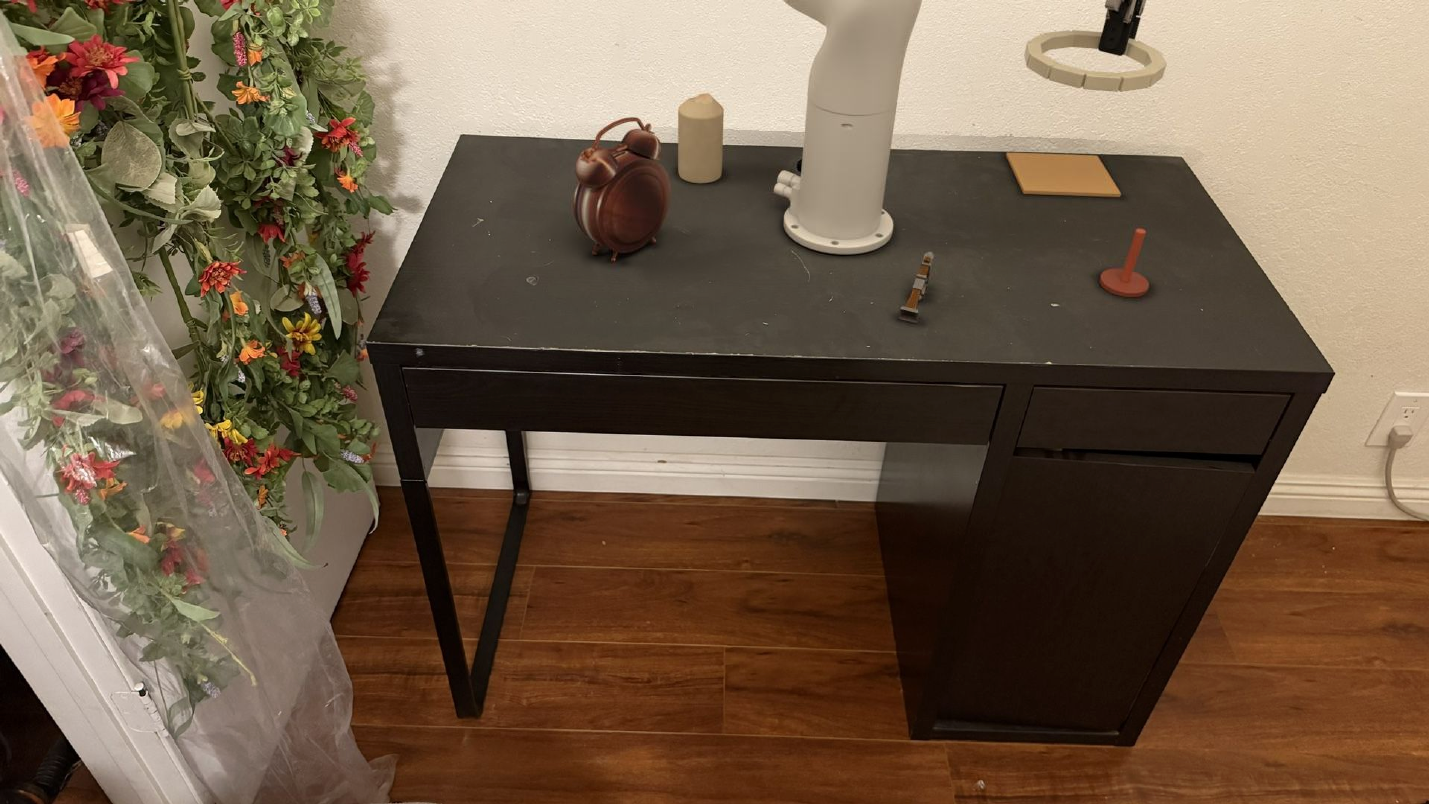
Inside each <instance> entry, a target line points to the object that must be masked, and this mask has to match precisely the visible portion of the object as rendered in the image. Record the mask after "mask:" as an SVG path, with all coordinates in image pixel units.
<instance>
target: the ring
mask: <svg viewBox="0 0 1429 804" xmlns="http://www.w3.org/2000/svg"><path fill="white" fill-rule="evenodd" d="M1101 35H1102V31H1093V30H1092V31H1090V30H1079V29H1078V30H1076V29H1072V30H1070V29H1067V30H1058V31H1052V32H1051V31H1050V32H1043V33H1040V34H1039V35H1036V36H1035V37H1032V38H1031V39H1029V40H1028V41H1027V42H1026V44H1025V49H1024V54H1023V56H1024V61H1025V66H1026V67H1027V69H1029V70H1031V71H1032V72H1033V73H1035V74H1037V75H1039V76H1040V77H1042V78H1043V79H1045V80H1048V81H1051V82H1054V83H1058V84H1061V85H1065V86H1069V87H1073V88H1077V89H1081V88H1082V89H1083V90H1089V91H1102V92H1113V93H1114V92H1115V93H1118V91H1119V92H1120V93H1122V92H1129V91H1136V90H1143V89H1149V88H1151V87H1153V86H1154V85H1155V84H1157V83H1158V82H1159V81H1161V80H1162V79H1163V77H1164V75H1165V71H1166V68H1167V61H1166V59H1165V57H1164V55H1163V54H1162V52H1161V51H1160V50H1158V49H1156V48H1154V47H1152V46H1150V45H1148V44H1146V43H1145V42H1142V41H1141V40H1137V39H1135V40H1134V39H1130V38H1129V40H1128V44H1127V47H1126V51H1125V54H1123V55H1122V56H1126V57H1128V58H1130V59H1132V60H1133V61H1135V62H1137V63H1139V64H1141V65H1142V66H1144V67H1143V68H1142V69H1136V70H1131V71H1121V72H1108V71H1107V72H1106V71H1095V70H1085V69H1082V68H1078V67H1074V66H1070V65H1067V64H1062V63H1060V62H1058V61H1056V60H1054V59H1053V58H1051V57H1049V56H1047V55H1046V54H1045V53H1047V52H1048V51H1052V50H1057V49H1066V48H1079V49H1092V50H1099V49H1098V46H1099V43H1100V39H1101Z"/></svg>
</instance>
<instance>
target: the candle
mask: <svg viewBox="0 0 1429 804" xmlns="http://www.w3.org/2000/svg"><path fill="white" fill-rule="evenodd" d="M724 113H725V109H724V107H723V106H722V104H720V102H718V100H716V99H715V98H714V97H713V96H712V95H711V94H710V93H709V92H707V93H705V92H704V93H700V94H698V95H697V96H693V97H689V98H688V99H685V100H684V101H683V102H682V103H681V104H680V105H679V106H678V108H677V123H678V124H677V127H678V128H677V138H678V139H677V168H678V169H677V170H678V171H677V172H678V176H679V177H680V178H681V179H682V180H684V181H685V182H689V183H694V184H708V183H713V182H715V181H717V180H719V179H721V177H722V173H723V149H724V147H723V146H724V117H725V115H724Z"/></svg>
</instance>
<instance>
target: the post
mask: <svg viewBox="0 0 1429 804" xmlns="http://www.w3.org/2000/svg"><path fill="white" fill-rule="evenodd" d="M1146 233H1147V230H1145V229H1143V228H1136V229H1135V232H1134V235H1133V238H1132V241H1131V244H1130V247H1129V250H1128V253H1127V257H1126V260H1125V262H1124V266H1123V268H1108V269H1106V270H1104V271H1102V273H1101V274H1100V276H1099V280H1098V281H1099V284H1100V286H1101V288H1103V289H1104V290H1105V291H1107V292H1108V293H1110V294H1112V295H1115V296H1118V297H1122V298H1123V297H1124V298H1139V297H1142V296H1144V295H1146V294H1147V292H1148V290H1149V287H1150V283H1149V280H1147V278H1146V277H1145V276H1143V275H1142V274H1140V273H1138V272H1136V271H1134V269H1135V266H1136V264H1137V260H1138V257H1139V254H1140V252H1141V249H1142V246H1143V242H1144V240H1145V236H1146Z"/></svg>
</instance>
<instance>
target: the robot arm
mask: <svg viewBox="0 0 1429 804" xmlns="http://www.w3.org/2000/svg"><path fill="white" fill-rule="evenodd" d="M782 1H783V2H784V3H785V4H786V5H788V6H789V7H791V8H792V9H793V10H796V11H797V12H799V13H801V14H802V15H804V16H807V17H808V18H811V19H812V20H815V21H816V22H818V23H819V24H821V25H823V26H824V27H825V28H826V33H825V37H824V39H823V42H822V44H820V47H819V49H818V51H817V53H816V54H815V56H814V58H813V61H812V64H811V67H810V71H809V75H808V84H807V92H806V93H807V94H806V95H807V99H806V110H805V122H804V135H803V144H802V145H803V146H802V147H803V148H802V156H801V159H802V160H801V171H800V175H798V174H796V173H794V172H790V171H787V170H785V169H783V170H781V171H780V172H779V174H778V176H777V180H776V182H777V183H775V185H774V186H773V187H774V188H773V194H775V195H777V196H780V197H783V198H787V199H788V200H789V202H790V205H789V207H788V208H787V209H786V211H784V215H783V228H784V231H785V233H786V234H787V235H788V236H789V238H791V239H792V240H793V241H794V242H796V243H798V244H799V245H801V246H803V247H805V248H807V249H810V250H814V251H817V252H820V253H825V254H826V253H827V254H830V255H858V254H865V253H869V252H873V251H875V250H877V249H879V248H881V247H883V246H885V245H886V244H887V243H888V242H889V241H890V240H891V238H892V236H893V231H894V220H893V219H892V217H891V215H890V214H889V213H888V212H887V211H886V210H885V209H884V208H883V204H884V200H885V199H884V198H885V193H886V191H885V190H886V184H887V178H888V170H889V163H890V156H891V150H892V143H893V135H894V129H895V128H894V127H895V121H896V114H897V107H898V99H899V98H898V97H899V93H900V92H899V91H900V84H901V79H902V78H901V77H902V72H903V67H904V61H905V57H906V53H907V50H908V45H909V42H910V39H911V36H912V33H913V29H914V27H915V25H916V22H917V20H918V16H919V13H920V10H921V7H922V2H923V0H782ZM1146 3H1147V0H1105V2H1104V8H1105V9H1106V13H1105V20H1104V24H1103V28H1102V31H1101V32H1102V35H1101V39H1100V43H1099V46H1098V49H1097V50H1098V51H1099V52H1102V53H1106V54H1110V55H1114V56H1118V57H1122V56H1124V55H1123V54H1125V51H1126V47H1127V44H1128V40H1129V38H1130V39H1134V40H1136V37H1137V33H1138V30H1139V27H1140V22H1141V19H1142V18H1141V16H1142V15H1143V12H1144V11H1145V10H1144V9H1145V6H1146Z"/></svg>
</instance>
